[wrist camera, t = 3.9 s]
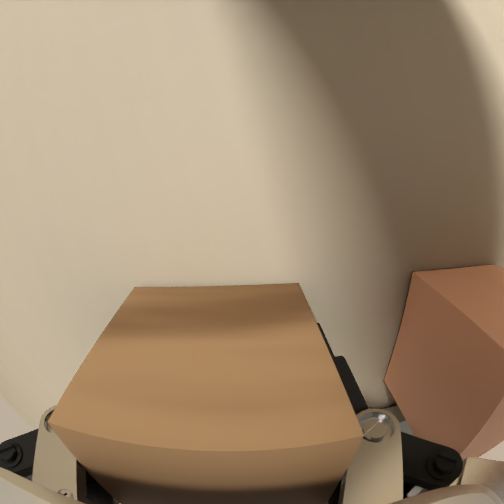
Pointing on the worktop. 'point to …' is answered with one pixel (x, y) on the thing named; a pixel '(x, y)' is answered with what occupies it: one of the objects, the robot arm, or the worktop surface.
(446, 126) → the worktop surface
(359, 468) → the robot arm
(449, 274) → the terracotta block
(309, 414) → the walnut block
